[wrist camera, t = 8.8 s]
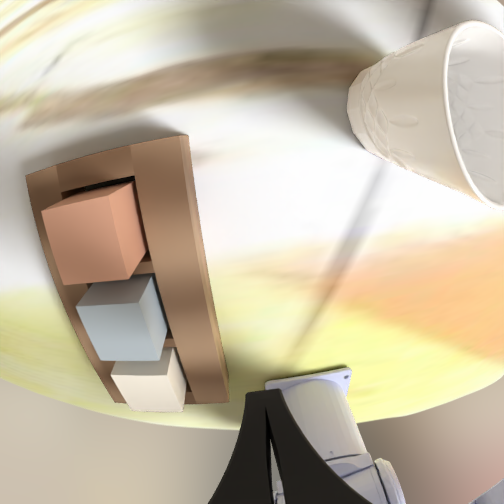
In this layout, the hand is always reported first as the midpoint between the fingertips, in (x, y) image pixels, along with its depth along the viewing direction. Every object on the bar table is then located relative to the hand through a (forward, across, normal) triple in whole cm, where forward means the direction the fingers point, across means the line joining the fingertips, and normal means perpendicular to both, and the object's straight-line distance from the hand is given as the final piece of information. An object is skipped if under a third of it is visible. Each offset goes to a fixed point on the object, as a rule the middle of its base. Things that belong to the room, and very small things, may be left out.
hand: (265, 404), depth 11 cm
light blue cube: (+8, +8, -1) cm, 11 cm away
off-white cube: (+9, +8, +4) cm, 12 cm away
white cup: (+10, -11, -11) cm, 18 cm away
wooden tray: (+10, +8, -1) cm, 13 cm away
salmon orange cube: (+8, +8, -7) cm, 13 cm away
